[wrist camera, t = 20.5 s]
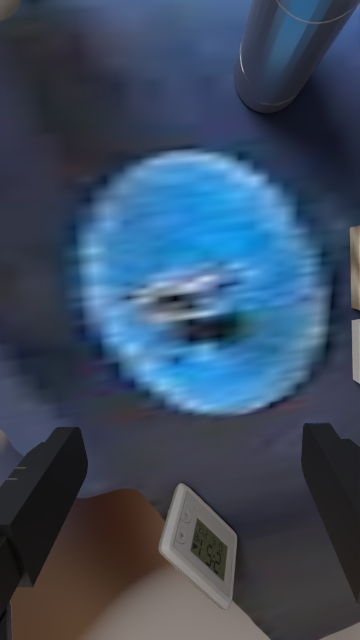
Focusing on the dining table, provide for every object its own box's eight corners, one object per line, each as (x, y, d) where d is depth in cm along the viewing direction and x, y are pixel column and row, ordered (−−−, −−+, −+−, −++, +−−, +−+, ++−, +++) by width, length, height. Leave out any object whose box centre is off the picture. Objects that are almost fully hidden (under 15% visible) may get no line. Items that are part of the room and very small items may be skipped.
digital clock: (239, 535, 52) (253, 603, 41) (198, 553, 53) (201, 624, 42) (197, 471, 49) (201, 527, 38) (154, 491, 50) (147, 552, 40)
